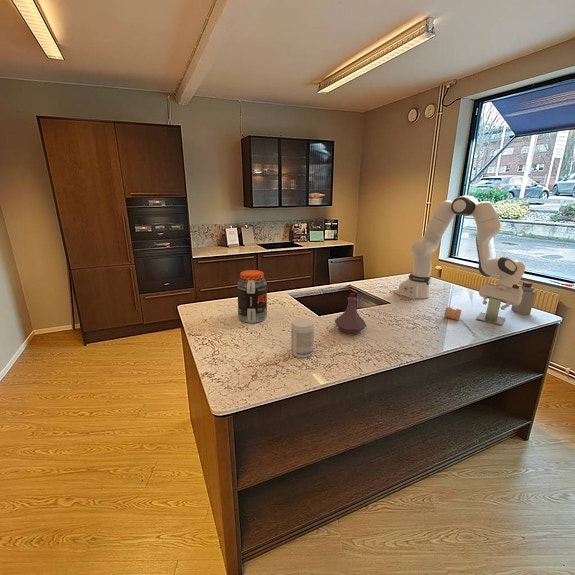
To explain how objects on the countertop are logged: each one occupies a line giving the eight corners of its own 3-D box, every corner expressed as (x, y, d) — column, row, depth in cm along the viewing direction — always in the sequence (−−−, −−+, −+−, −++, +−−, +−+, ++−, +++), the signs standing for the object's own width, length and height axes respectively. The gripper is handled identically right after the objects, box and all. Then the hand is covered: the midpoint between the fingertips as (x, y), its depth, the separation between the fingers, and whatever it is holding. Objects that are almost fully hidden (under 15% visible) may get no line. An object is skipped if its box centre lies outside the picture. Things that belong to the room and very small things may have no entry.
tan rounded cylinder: (448, 305, 183) (446, 315, 184) (445, 307, 178) (443, 317, 179) (461, 308, 178) (459, 319, 180) (459, 310, 174) (457, 321, 175)
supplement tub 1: (262, 325, 168) (262, 277, 160) (234, 322, 171) (232, 275, 163) (270, 313, 183) (270, 269, 175) (244, 311, 185) (242, 268, 178)
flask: (327, 326, 167) (329, 290, 161) (354, 322, 173) (357, 286, 167) (344, 340, 153) (347, 300, 146) (373, 335, 158) (377, 296, 152)
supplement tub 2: (317, 352, 141) (318, 321, 137) (304, 361, 134) (305, 329, 130) (300, 345, 147) (300, 315, 143) (286, 353, 140) (286, 322, 136)
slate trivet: (476, 319, 178) (476, 318, 178) (480, 313, 187) (481, 312, 187) (501, 325, 171) (501, 324, 171) (505, 319, 179) (505, 317, 179)
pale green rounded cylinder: (484, 318, 178) (488, 299, 175) (486, 315, 182) (490, 297, 179) (495, 320, 175) (500, 302, 171) (497, 317, 179) (502, 299, 175)
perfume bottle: (530, 313, 188) (537, 284, 182) (518, 313, 188) (525, 284, 182) (522, 309, 194) (529, 281, 188) (511, 309, 194) (517, 280, 189)
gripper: (484, 278, 185) (472, 297, 182) (525, 288, 169) (512, 309, 166) (486, 285, 188) (474, 303, 186) (526, 294, 172) (514, 315, 170)
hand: (492, 306), depth 176 cm, fingers open, 8 cm apart
